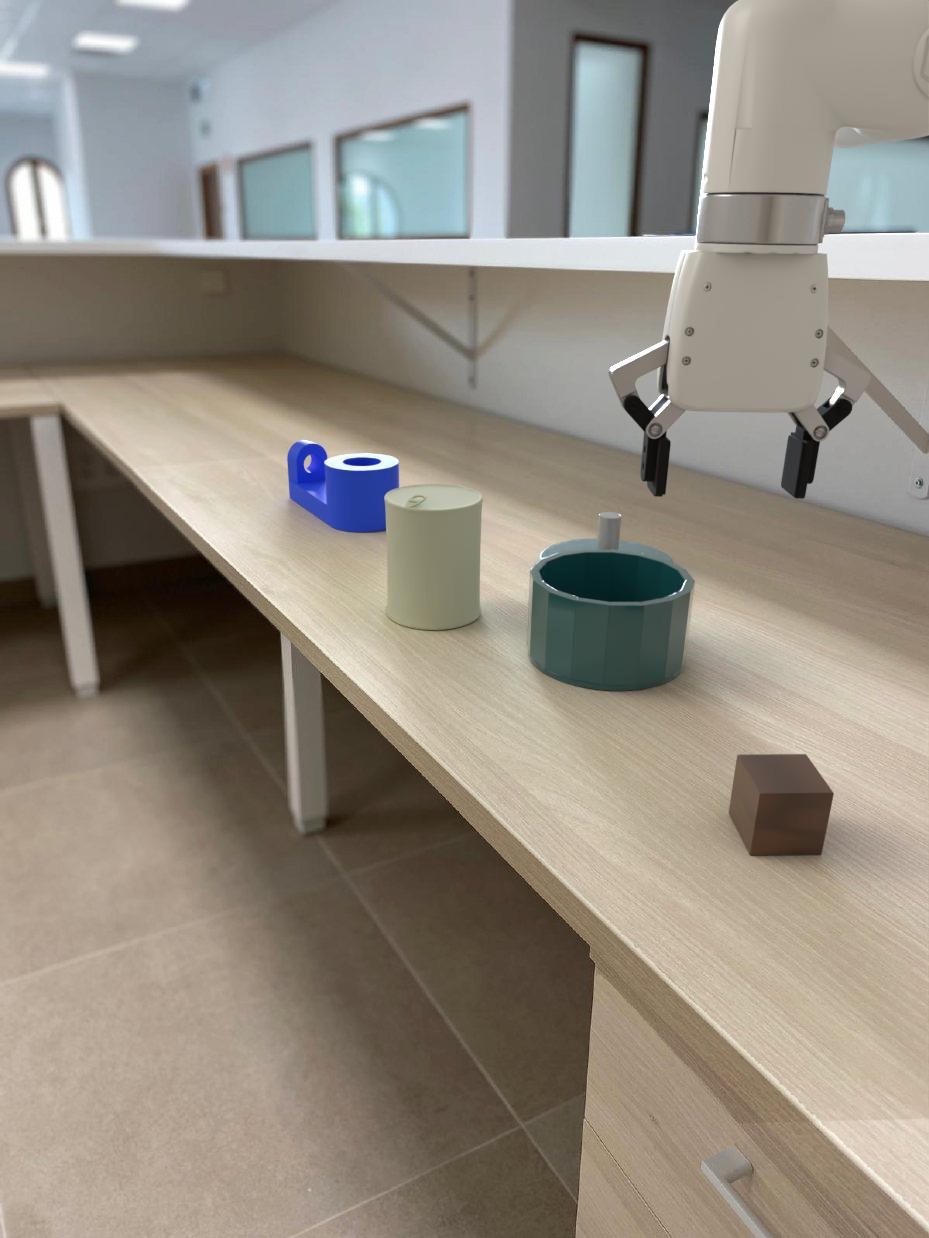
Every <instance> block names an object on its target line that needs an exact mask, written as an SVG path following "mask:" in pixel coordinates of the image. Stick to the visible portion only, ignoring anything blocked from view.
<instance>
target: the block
mask: <svg viewBox="0 0 929 1238" xmlns="http://www.w3.org/2000/svg"><path fill="white" fill-rule="evenodd" d="M732 780H733V781H732V788H731V792H730V799H729V800H730V802H729V806H728V807H729V808H728V815H729V816H730V819H731V820H732V822H733V825H734V827H735V829H736V831H737V833H738V835H739V836H740V838H741V840H742V842H743V844H744V846H745V849H746V851H747V852H748V854H749V856H801V855H802V856H803V855H804V856H805V855H806V856H810V855H813V856H815V855H816V856H817V855H818V856H819V855H822V854H823V849H824V844H825V839H826V835H827V830H828V825H829V819H830V816H831V815H830V814H831V809H832V804H833V800H834V794H835V793H834V791H833V790H832V789H831V787H830V786H829V784H828V783H827V781H826V780H825V779H824V777H823V776H822V775H821V773H820V772H819V771H818V769H817V767H816V766H815V765H814V763H813V762H812V760H811V759H810V758H809V756H808V755H807V753H759V754H756V753H754V754H752V753H751V754H750V753H749V754H739V753H738V754H737V755H736V760H735V767H734V775H733V779H732Z"/></svg>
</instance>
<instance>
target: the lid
mask: <svg viewBox="0 0 929 1238" xmlns="http://www.w3.org/2000/svg"><path fill="white" fill-rule="evenodd" d="M597 522H598V523H597V534H596V535H597V536H596V537H597V538H579V539H578V538H577V539H571V540H565V541H560V542H557V543H554V544H551V545H549V546H547V547H545V548H544V549H543V550H542V551H541V553H540V554H539V560H541V559H544V558H546V557H549V556H552V555H554V554H557V553H562V552H569V551H576V550H620V551H628V552H636V553H643V554H646V555H650V556H654V557H657V558H661V559H665V560H668V561H670V562H672V563H674V564H675V561H674V559H673V558H672V557H671V556H670V555H668V553H666V552H664V551H662V550H661V549H658V548H655V547H653V546H650V545H647V544H643V543H639V542H636V541H635V542H634V541H630V540H622V539H620V537H621V526H622V514H621V513H618V512H615V511H614V512H613V511H604V512H603V511H602V512H600V513H599V514H598V521H597Z"/></svg>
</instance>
